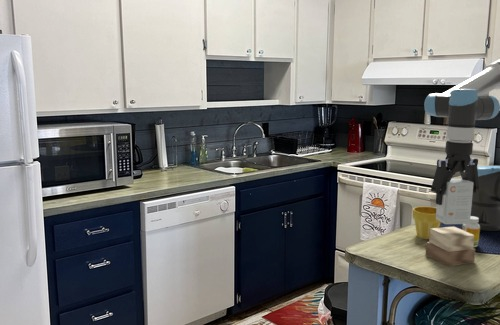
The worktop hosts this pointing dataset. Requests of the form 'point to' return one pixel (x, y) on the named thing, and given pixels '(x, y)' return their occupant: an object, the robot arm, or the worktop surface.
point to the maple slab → (451, 239)
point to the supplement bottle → (473, 229)
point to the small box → (457, 202)
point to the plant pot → (425, 220)
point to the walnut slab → (449, 255)
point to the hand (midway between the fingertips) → (453, 213)
